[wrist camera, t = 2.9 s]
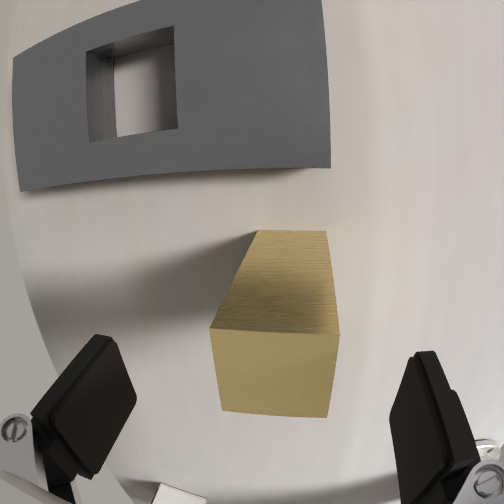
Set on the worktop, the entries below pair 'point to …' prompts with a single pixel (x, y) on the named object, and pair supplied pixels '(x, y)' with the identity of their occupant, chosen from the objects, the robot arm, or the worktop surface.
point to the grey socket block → (177, 92)
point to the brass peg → (278, 328)
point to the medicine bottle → (175, 496)
